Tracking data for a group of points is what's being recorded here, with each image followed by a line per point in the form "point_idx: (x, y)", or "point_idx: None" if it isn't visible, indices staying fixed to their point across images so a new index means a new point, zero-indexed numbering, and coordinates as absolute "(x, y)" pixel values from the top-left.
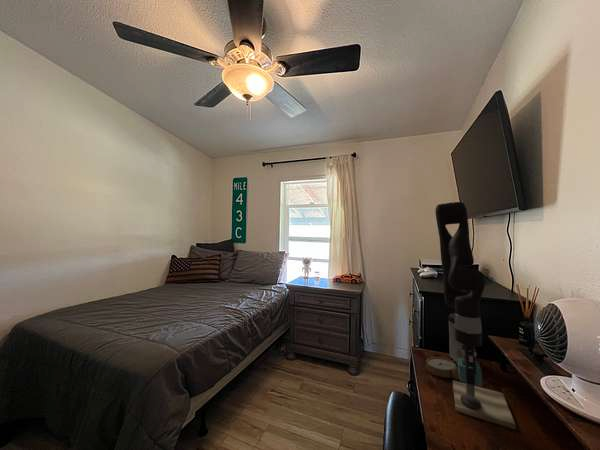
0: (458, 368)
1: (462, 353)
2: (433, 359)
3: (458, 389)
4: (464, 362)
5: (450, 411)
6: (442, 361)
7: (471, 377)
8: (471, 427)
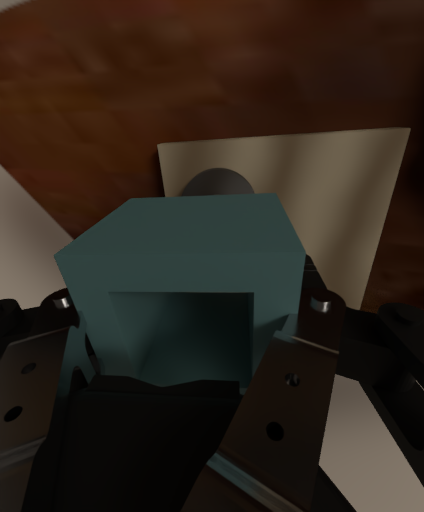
0: (243, 207)
1: (35, 446)
2: None
3: (314, 159)
4: (15, 346)
5: (144, 121)
6: None
7: None
8: (105, 195)
